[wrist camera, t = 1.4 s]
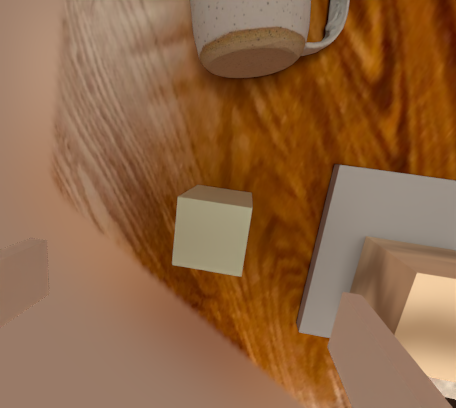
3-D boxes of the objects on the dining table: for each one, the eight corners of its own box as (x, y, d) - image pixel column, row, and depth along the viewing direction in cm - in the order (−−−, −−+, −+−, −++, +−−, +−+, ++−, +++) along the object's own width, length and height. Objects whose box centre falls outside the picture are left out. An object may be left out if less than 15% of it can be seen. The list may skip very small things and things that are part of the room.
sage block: (198, 184, 21) (177, 196, 15) (251, 192, 20) (252, 208, 15) (192, 235, 22) (171, 264, 16) (243, 243, 22) (241, 276, 16)
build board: (334, 164, 19) (340, 164, 18) (510, 188, 18) (528, 190, 17) (296, 323, 23) (298, 332, 22) (441, 350, 22) (451, 360, 21)
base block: (366, 236, 19) (417, 272, 13) (453, 249, 19) (545, 293, 13) (345, 307, 21) (382, 368, 15) (425, 321, 20) (495, 390, 14)
